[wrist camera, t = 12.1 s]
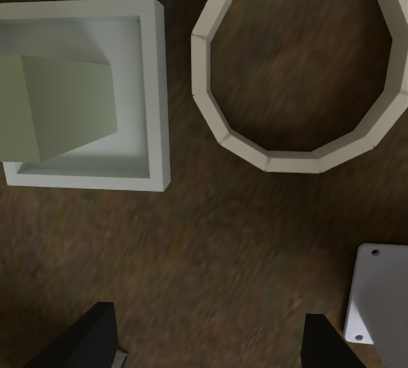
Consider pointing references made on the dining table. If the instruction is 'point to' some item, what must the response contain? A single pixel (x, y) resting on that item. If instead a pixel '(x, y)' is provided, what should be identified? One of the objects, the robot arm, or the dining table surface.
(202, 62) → the collar
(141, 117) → the tray
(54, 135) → the peg
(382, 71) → the dining table surface
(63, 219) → the dining table surface
